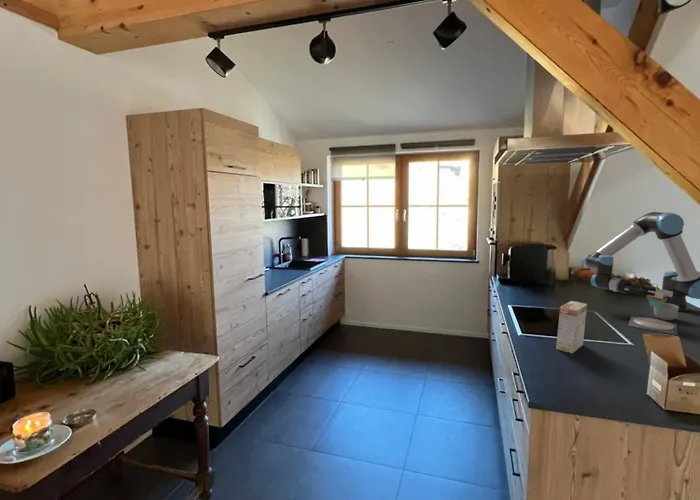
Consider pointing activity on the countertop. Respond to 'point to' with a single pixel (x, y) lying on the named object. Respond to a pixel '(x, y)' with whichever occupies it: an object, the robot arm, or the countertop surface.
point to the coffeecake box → (571, 326)
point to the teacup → (666, 311)
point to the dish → (653, 325)
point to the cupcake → (656, 300)
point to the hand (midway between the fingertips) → (667, 295)
